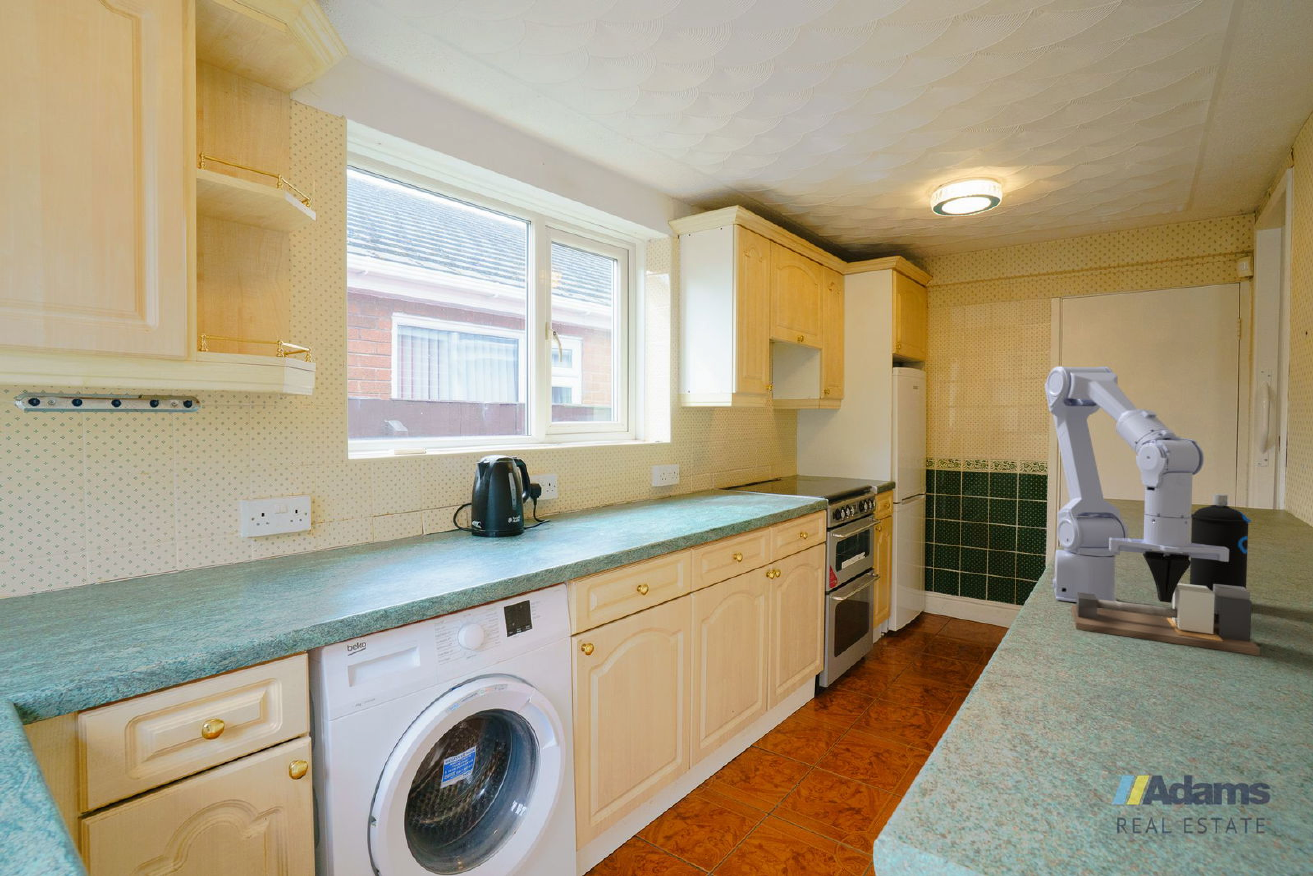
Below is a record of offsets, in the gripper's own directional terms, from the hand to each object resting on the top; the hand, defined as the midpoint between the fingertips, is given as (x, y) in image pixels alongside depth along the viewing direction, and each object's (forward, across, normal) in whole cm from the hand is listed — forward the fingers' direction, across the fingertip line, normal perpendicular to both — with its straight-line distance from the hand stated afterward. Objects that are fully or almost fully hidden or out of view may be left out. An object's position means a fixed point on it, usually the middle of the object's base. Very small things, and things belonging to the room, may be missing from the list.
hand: (1164, 600), depth 98 cm
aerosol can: (+5, +12, +25) cm, 28 cm away
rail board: (+5, -1, 0) cm, 5 cm away
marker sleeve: (+4, +3, 0) cm, 5 cm away
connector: (+5, +8, 0) cm, 9 cm away
